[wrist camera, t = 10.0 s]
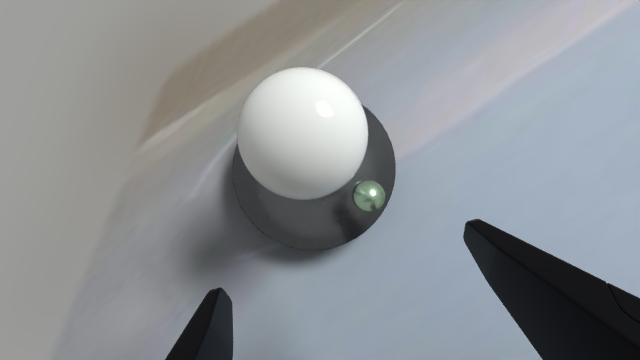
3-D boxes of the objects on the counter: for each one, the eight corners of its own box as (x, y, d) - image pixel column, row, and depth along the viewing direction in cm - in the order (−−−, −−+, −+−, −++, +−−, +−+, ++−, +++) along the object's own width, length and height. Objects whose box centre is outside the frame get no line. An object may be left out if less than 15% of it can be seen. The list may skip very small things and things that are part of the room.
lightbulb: (329, 223, 20) (326, 224, 9) (259, 183, 21) (180, 140, 10) (368, 153, 21) (408, 77, 10) (299, 117, 22) (267, 9, 11)
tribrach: (344, 275, 22) (346, 283, 19) (214, 199, 23) (200, 197, 21) (414, 143, 23) (424, 133, 21) (287, 80, 25) (282, 63, 22)
